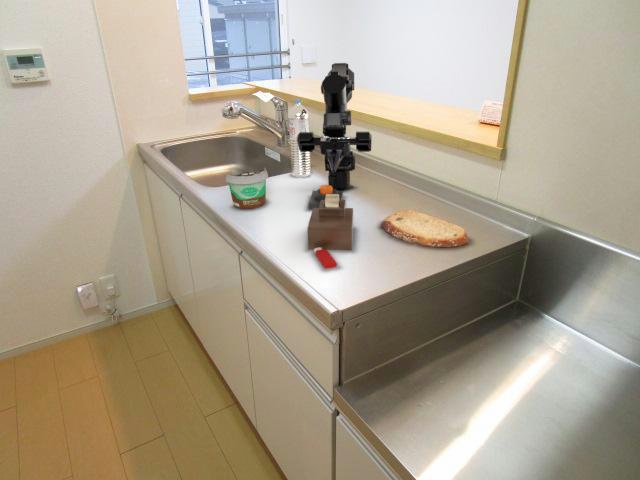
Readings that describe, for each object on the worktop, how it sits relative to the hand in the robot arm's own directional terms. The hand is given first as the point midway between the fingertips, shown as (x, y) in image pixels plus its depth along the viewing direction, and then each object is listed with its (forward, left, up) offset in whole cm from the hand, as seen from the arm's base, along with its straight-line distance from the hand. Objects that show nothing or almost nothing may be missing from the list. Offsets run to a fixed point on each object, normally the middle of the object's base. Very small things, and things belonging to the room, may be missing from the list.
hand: (333, 171), depth 113 cm
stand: (+8, +7, -14) cm, 17 cm away
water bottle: (-22, -36, -14) cm, 45 cm away
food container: (+8, -25, -14) cm, 29 cm away
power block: (-8, -11, -14) cm, 19 cm away
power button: (-8, -11, -10) cm, 17 cm away
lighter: (+17, +13, -14) cm, 26 cm away
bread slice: (-9, +21, -14) cm, 27 cm away
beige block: (+5, +5, -6) cm, 10 cm away
